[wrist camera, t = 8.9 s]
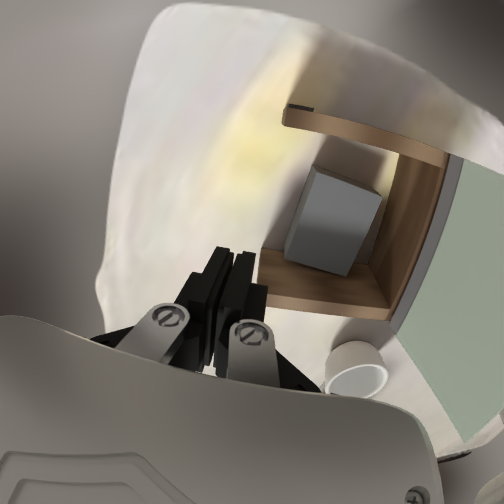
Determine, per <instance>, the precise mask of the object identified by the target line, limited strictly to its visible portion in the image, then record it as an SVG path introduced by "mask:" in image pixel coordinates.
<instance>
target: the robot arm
mask: <svg viewBox="0 0 504 504" xmlns="http://www.w3.org/2000/svg"><path fill="white" fill-rule="evenodd" d="M255 257H256V253H252V252H246V251H243V253H242V254H237V256H236V259H235V262H234V264H233V259H234V253H233V252H230V249H229V248H224V247H218V246H217V247H216V249H215V250H214V252H213V254H212V256H211V258H210V260H209V261H208V263H207V265H206V267H205V269H204V271H203V273H197V272H192V273H191V275H190V276H189V278H188V280H187V281H186V283H185V285H184V286H183V288H182V290H181V292H180V293H179V295H178V297H177V298H176V300H175V302H174V303H163V304H159V305H156V306H154V307H153V308H152V309H150V310H149V311H148V313H147V314H146V315H145V316H144V317H143V318H142V319H141V320H140V321H139V322H138V323H137V324H136V325H135V326H132V327H128V328H125V329H121V330H118V331H114V332H110V333H107V334H103V335H99V336H96V337H93V338H91V339H90V340H88V339H86V337H80V336H78V335H75V334H73V333H70V332H68V331H65V330H63V329H60V328H57V327H55V326H51V325H49V324H47V323H44V322H42V321H38V320H35V319H32V318H27V317H21V316H1V317H0V504H444V499H443V491H442V484H441V478H440V474H439V469H438V465H437V460H436V456H435V453H434V450H433V446H432V444H431V441H430V438H429V436H428V433H427V431H426V429H425V428H424V426H423V424H422V423H421V422H420V421H419V419H418V418H416V417H415V416H414V415H413V414H411V413H410V412H408V411H406V410H404V409H402V408H399V407H397V406H394V405H391V404H388V403H385V402H381V401H376V400H372V399H366V398H360V397H352V396H342V395H338V394H334V393H330V394H324V393H322V391H321V390H320V389H319V388H318V387H317V386H316V385H315V384H314V383H313V382H312V381H311V380H310V379H308V378H307V377H306V376H305V375H304V374H303V373H302V372H300V371H299V370H298V369H297V368H296V367H295V366H294V365H292V364H291V363H290V362H289V361H288V360H287V359H286V358H285V357H284V356H282V355H281V354H280V353H279V352H278V351H277V350H276V349H275V341H274V334H273V332H272V330H271V328H270V327H269V326H268V325H266V324H265V323H263V322H264V315H265V308H266V301H267V293H268V286H267V285H261V284H255V283H251V282H252V275H253V269H254V263H255ZM213 353H214V362H213V367H215V368H216V373H215V374H216V375H217V377H215V376H211V375H206V374H202V372H203V369H204V365H206V366H209V365H210V363H211V360H212V356H213ZM195 371H197V372H195ZM198 372H201V373H198ZM499 415H500V417H501V419H502V422H503V424H504V408H503V409H502V410H501V411H500V413H499ZM475 504H504V472H503V473H501V474H500V475H498V476H497V477H495V478H494V479H492V480H491V481H489V482H488V483H487V484H486V485H485V486H484V487H483V488H482V489H481V490H480V491H479V493H478V495H477V497H476V500H475Z"/></svg>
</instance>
